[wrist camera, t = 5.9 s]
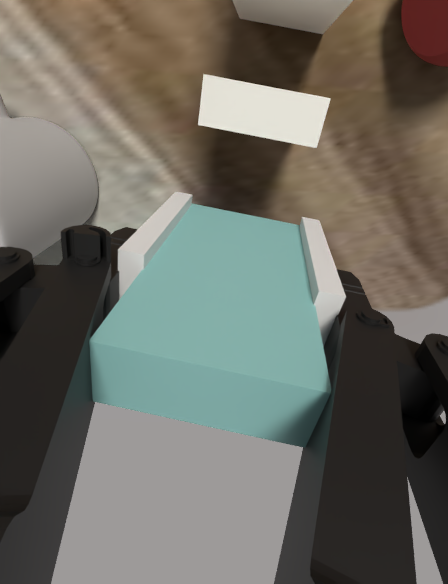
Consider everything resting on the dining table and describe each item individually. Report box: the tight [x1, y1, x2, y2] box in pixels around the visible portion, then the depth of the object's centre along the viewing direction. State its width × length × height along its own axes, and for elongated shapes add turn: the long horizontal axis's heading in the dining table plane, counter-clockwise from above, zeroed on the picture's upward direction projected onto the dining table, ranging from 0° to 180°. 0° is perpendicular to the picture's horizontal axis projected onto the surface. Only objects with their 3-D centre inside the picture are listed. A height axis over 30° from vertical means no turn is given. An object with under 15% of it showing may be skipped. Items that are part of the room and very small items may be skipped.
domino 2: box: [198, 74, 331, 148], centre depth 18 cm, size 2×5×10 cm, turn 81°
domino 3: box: [89, 204, 332, 448], centre depth 12 cm, size 2×5×10 cm, turn 81°
